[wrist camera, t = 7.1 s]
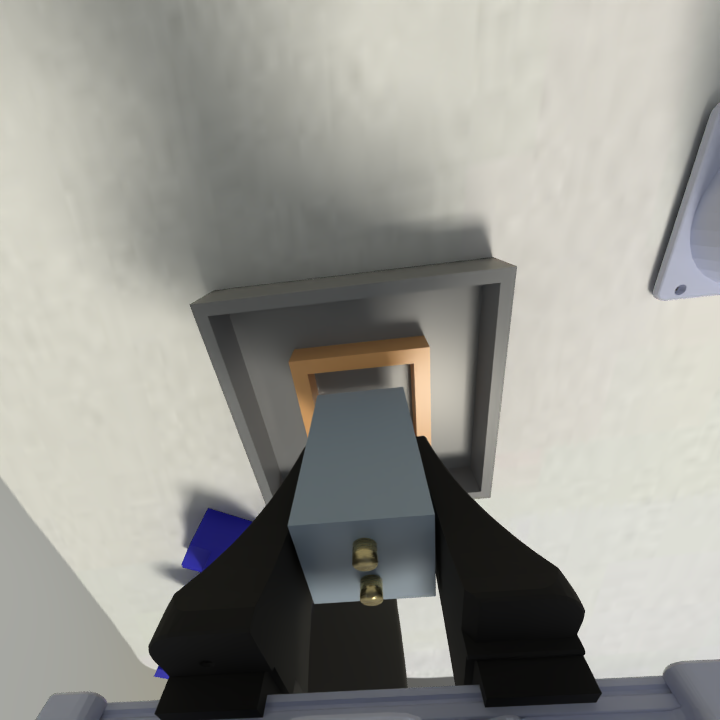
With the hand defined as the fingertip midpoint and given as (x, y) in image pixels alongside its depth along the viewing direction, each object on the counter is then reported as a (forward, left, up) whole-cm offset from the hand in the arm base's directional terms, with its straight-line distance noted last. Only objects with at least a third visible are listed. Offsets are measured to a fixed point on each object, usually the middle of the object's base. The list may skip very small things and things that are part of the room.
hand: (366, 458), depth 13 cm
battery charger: (+3, +18, -6) cm, 19 cm away
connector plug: (0, 0, -2) cm, 2 cm away
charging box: (0, 0, -5) cm, 5 cm away
